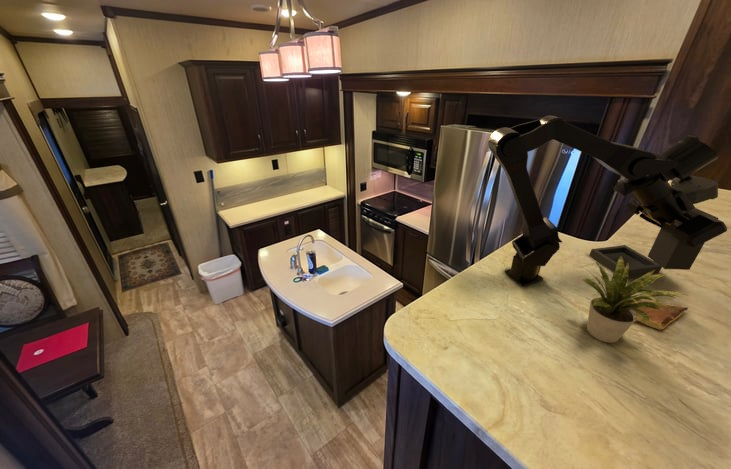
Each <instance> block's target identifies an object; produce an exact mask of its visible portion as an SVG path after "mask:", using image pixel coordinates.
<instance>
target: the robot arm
mask: <svg viewBox="0 0 731 469" xmlns="http://www.w3.org/2000/svg"><path fill="white" fill-rule="evenodd" d="M553 140H554V141H556V142H559V143H560V144H562V145H565V146H567V147H570V148H572V149H575V151H576V150H577V151H579V152H581V153H583V154H586V155H588V156H590V157H592V158H593V159H595V160H596V161H597V162H598V163H599V164H600V165H601V166H603V167H604V168H606V169H607V170H608V171H610V172H612V173H614V174H616V175H618V176H620V177H622V178H624V179H618V180H617V183H616V184H615V185H614V187H613V191H614V192H616V193H618V194H620V195H621V196H623V197H626V196H628V195H629V194H631V195H632V196H633V197H632V198H631V199H629V200H628V202H627V203H626V208H627V209H628V210H629V211H630V212H631V213H633V214H635V215H637V216H639V218H641V219H643V220H644V221H646V222H648V223H650V224H652V225H654V226H657V228H659V229H661V227H662V225H663V224H664V223H667V224H669V225H672V224H674V223H675V222H677V223H678V224H680V225H679V226H678V227H676V228H675V229H674V231H673V233H672V234H671V235H670V236H672V237H674V238H675V239H677V240H678V241H680V242H682V243H684V244H685V245H687V246H689V247H698V246H700V245H702V244H703V243H704V244H705V243H707V242H709V241H710V240H712V239H714V238H716V237H719V236H721V235H722V234H724V233H726V232H728V226H727V225H726V223H725V222H724V221H722V220H720V219H719V218H718V219H716V218H714V217H712V216H710V215H707V214H700V215H694V216H691V215H689V214H687V213H685V211H691V210H692V209H694V208H696V207H695V205H696V204H700V203H703V202H706V201H709V200H715V199H718V197H719V183H718V181H715V180H712V179H709V178H707V177H704V176H696V175H693V176H691V175H692V174H695V173H696V172H698V171H699V170H701V169H703V168H704V167H706V166H708V165H709V164H711V163H712V162H714V161H716V160H718V159H719V154H718V152H717V151H716V149H714V148H712V147H711V146H709V145H708V144H707V143H705V142H703V141H701V140H700V139H699V137H698V136H694V135H690V134H689V135H686V136H685V137H683V138H682V139H680V140H679V141H678V142H677V143H676V144H674V145H672V146H671V147H669V148H667V150H664V151H662V152H661V153H660V154H657V153H654V152H651V151H648V150H645V149H642V148H639V147H638V148H637V146H632V145H629V144H625V143H620V142H615V141H609V140H607V139H605V138H604V137H603V138H602V137H601V136H598V135H596V134H594V133H591V132H589V131H587V130H585V129H582V128H580V127H578V126H576V125H573V124H571V123H570V122H567V121H566V120H565V119H564V118H562V117H559V116H555V115H545V116H543V117H540V118H537V119H535V120H532V121H528V122H524V123H521V124H520V123H519V124H517V125H514V126H512V127H500V128H498V129H496V130H494V131H493V132H492V133H491V135H490V137H489V138H488V141H487V145H488V148H489V149H488V150H489V151H490V152H491V153H492V155H493V157H494V158H495V160H496V161H497V163H498V164H499V165H500V167H501V168H502V170H503V172H504V173H505V176H506V178H507V180H508V184H509V187H510V189H511V193H512V194H513V197H514V201H515V203H516V206H517V208H518V211H519V214H520V217H521V219H522V227H521V232H522V234H520V235H519V236H517V237H515V239H513V240H512V241H511V244H512V248H513V249H514V250H515V252H516V253H515V255H513V256H512V262H511V266H510V268H509V269H506V270H504V272H505V274H506V275H507V276H509V277H510V278H511V279H512V280H514V281H515V282H517V283H518V284H519V285H521V286H523V287H524V286H528V285H532V284H534V283H538V282H540V281H543V280H544V277H543V276H541V275H540V271H541V269H542V267H545V266H546V265H547V264H548V263H549V261H550V260H551V259H552V258H553V256H554V255H556V253H557V252H559V250H560V249H561V247H560V243H563V240H562V239H561V238H560V237H559V229H558V227H557V226H556V225H555V224H554V223H553V222H552V221H551V220H550V219H549V218H548V217H547V216H545V217H544V216H543V213H542V210H541V207H540V204H539V201H538V198H537V194H536V192H535V188H534V185H533V183H532V179H531V177H530V173H529V170H528V161H529V152H532V151H534V150H537V149H538V148H540V147H541V146H543V145H544V144H546V143H548V142H550V141H553ZM667 179H670V180H671V182H668V180H667Z"/></svg>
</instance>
